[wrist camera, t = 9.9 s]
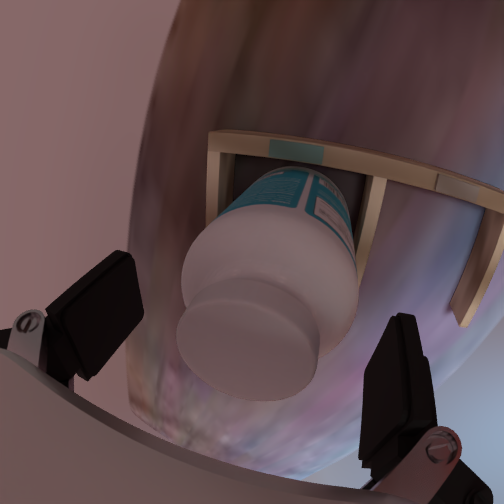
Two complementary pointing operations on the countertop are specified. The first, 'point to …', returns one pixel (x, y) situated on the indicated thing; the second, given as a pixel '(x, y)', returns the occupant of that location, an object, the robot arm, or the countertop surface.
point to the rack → (368, 196)
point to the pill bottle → (269, 287)
